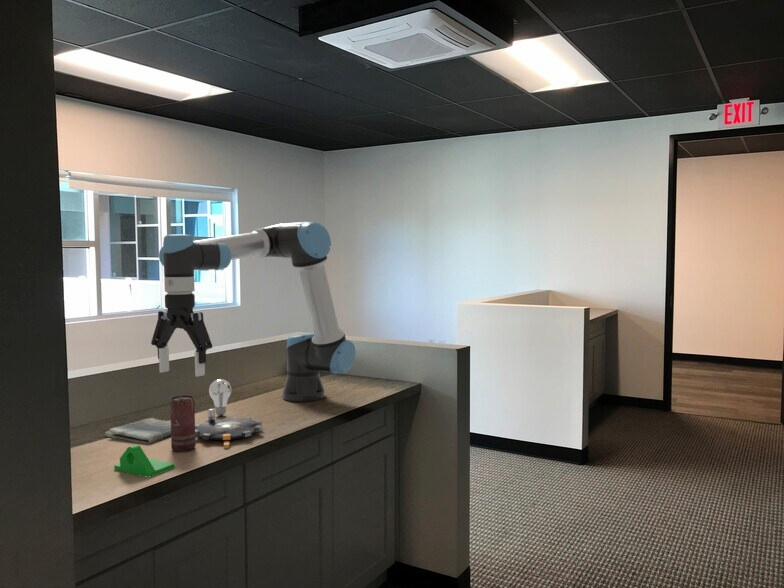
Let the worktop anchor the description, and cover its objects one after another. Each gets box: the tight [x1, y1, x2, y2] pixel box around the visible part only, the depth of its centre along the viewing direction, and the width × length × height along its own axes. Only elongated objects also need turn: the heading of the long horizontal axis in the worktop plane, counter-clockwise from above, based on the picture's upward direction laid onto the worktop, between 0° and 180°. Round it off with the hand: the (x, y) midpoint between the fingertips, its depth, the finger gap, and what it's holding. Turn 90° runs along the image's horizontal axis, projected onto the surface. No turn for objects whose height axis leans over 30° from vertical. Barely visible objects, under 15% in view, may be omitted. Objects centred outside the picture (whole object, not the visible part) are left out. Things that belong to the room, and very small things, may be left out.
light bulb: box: [208, 378, 232, 417], centre depth 200 cm, size 7×7×12 cm
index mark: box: [223, 440, 230, 449], centre depth 168 cm, size 3×1×1 cm, turn 13°
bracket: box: [113, 444, 175, 477], centre depth 151 cm, size 12×8×7 cm, turn 61°
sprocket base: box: [210, 436, 244, 442], centre depth 180 cm, size 12×12×1 cm
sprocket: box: [195, 408, 263, 441], centre depth 179 cm, size 19×20×5 cm
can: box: [169, 395, 196, 453], centre depth 166 cm, size 6×6×14 cm
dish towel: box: [104, 417, 171, 445], centre depth 182 cm, size 19×18×3 cm
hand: (181, 373), depth 165 cm, fingers open, 12 cm apart
